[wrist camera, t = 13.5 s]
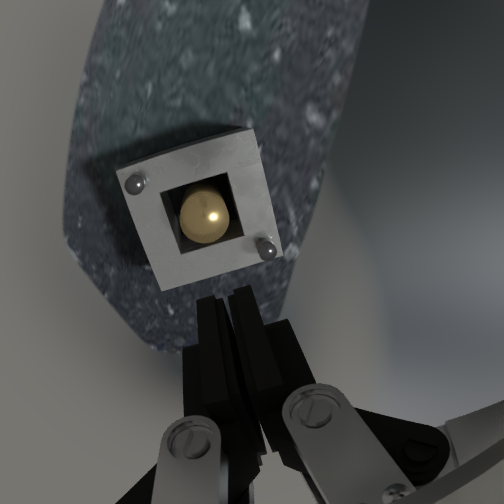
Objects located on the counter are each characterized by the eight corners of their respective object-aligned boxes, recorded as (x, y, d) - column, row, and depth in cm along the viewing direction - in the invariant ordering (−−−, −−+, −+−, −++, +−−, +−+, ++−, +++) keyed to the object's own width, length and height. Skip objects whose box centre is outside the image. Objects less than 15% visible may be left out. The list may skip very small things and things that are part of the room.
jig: (127, 162, 30) (111, 174, 24) (244, 127, 30) (256, 129, 24) (165, 268, 35) (160, 300, 29) (271, 236, 35) (287, 262, 29)
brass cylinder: (177, 187, 32) (172, 205, 25) (215, 175, 32) (220, 189, 25) (190, 223, 33) (189, 249, 27) (227, 211, 33) (235, 234, 27)
